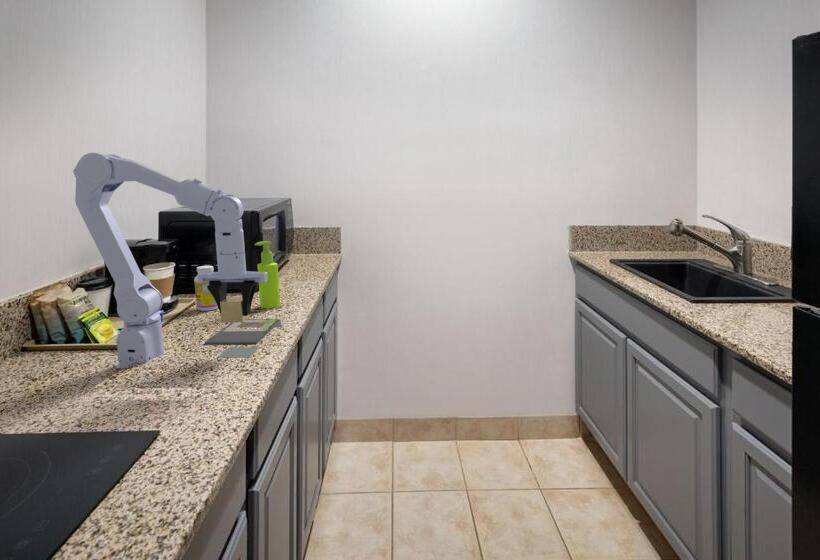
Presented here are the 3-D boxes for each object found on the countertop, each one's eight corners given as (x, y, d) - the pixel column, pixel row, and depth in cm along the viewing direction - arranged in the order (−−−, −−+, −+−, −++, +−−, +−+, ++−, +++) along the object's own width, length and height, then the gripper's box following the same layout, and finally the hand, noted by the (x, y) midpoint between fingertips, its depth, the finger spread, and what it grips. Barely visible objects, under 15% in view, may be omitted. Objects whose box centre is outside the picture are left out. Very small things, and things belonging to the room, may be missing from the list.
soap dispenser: (253, 308, 166) (249, 242, 162) (269, 303, 172) (265, 239, 168) (268, 310, 163) (264, 243, 159) (284, 305, 169) (280, 240, 165)
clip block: (242, 322, 117) (240, 301, 116) (221, 322, 117) (220, 301, 116) (249, 317, 121) (248, 297, 121) (229, 317, 122) (228, 297, 121)
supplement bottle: (196, 307, 168) (192, 266, 166) (218, 305, 171) (215, 264, 168) (197, 312, 162) (193, 269, 160) (221, 309, 165) (217, 267, 162)
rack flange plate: (257, 350, 125) (256, 341, 124) (205, 350, 125) (204, 342, 125) (281, 326, 144) (280, 319, 144) (236, 326, 145) (235, 319, 145)
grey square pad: (250, 364, 115) (249, 357, 115) (217, 364, 116) (216, 357, 115) (260, 353, 122) (260, 347, 122) (229, 353, 123) (229, 347, 122)
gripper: (270, 249, 120) (273, 310, 123) (205, 250, 121) (210, 310, 123) (259, 254, 113) (264, 318, 116) (191, 255, 114) (196, 318, 117)
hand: (235, 314), depth 119 cm, fingers closed on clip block, 4 cm apart
